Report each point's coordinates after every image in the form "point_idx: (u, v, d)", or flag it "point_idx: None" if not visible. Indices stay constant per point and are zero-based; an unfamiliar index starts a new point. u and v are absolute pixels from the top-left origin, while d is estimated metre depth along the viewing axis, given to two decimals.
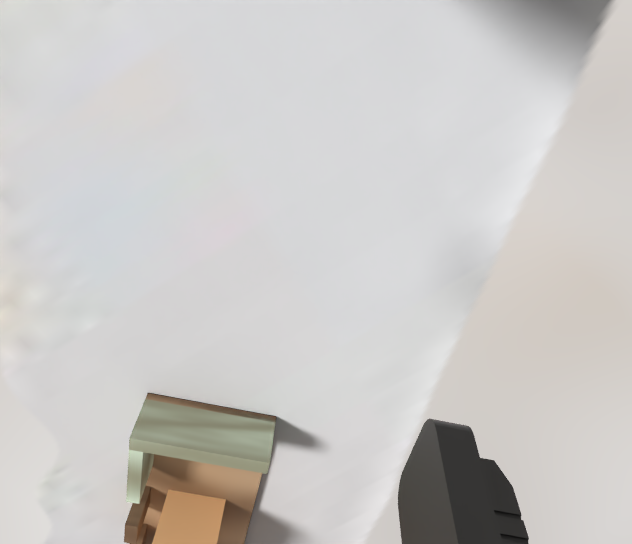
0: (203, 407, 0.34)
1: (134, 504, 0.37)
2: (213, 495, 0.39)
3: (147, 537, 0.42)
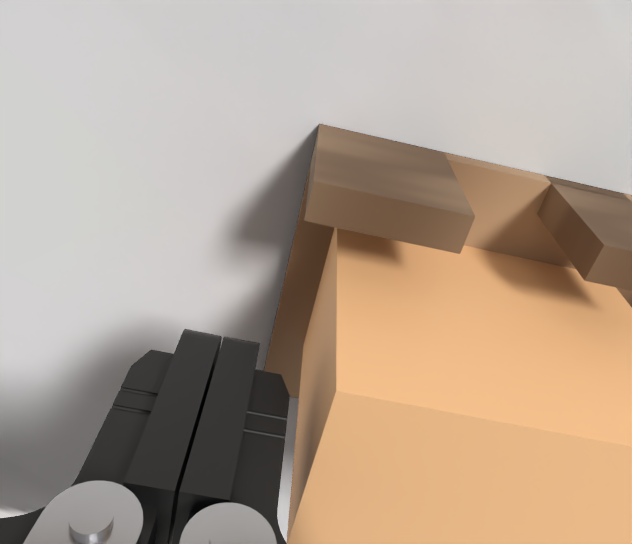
0: None
1: None
2: None
3: None
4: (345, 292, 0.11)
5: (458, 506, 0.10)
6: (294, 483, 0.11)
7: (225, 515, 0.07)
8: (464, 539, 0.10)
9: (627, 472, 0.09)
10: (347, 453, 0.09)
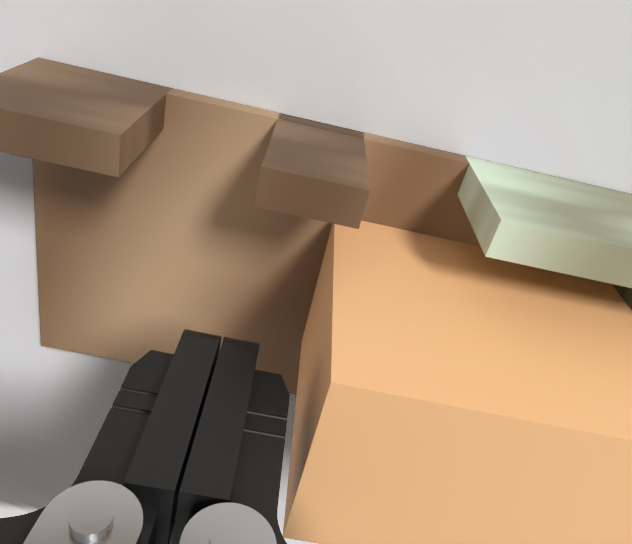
0: None
1: None
2: None
3: None
4: (342, 286, 0.11)
5: (453, 498, 0.10)
6: (291, 476, 0.11)
7: (225, 515, 0.07)
8: (458, 531, 0.10)
9: (618, 465, 0.09)
10: (342, 444, 0.09)
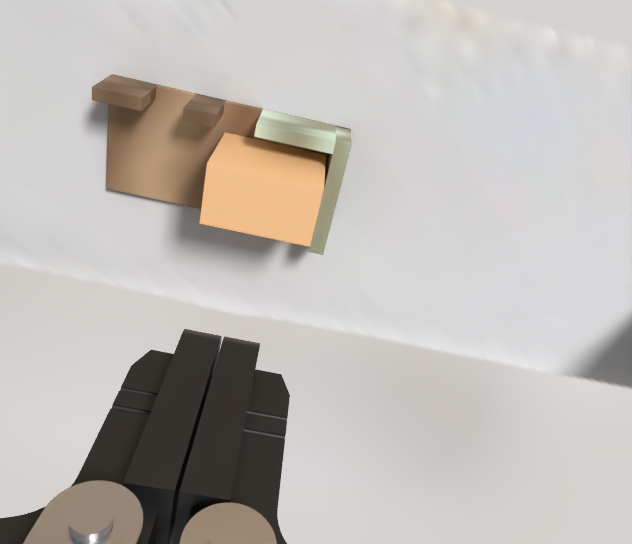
0: None
1: (220, 110, 0.36)
2: None
3: None
4: (218, 148, 0.35)
5: (246, 205, 0.34)
6: None
7: (225, 515, 0.07)
8: (251, 218, 0.34)
9: (289, 190, 0.33)
10: (212, 185, 0.33)
